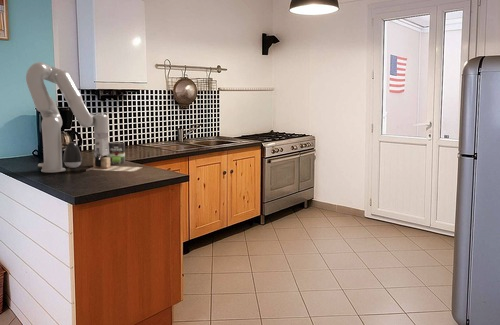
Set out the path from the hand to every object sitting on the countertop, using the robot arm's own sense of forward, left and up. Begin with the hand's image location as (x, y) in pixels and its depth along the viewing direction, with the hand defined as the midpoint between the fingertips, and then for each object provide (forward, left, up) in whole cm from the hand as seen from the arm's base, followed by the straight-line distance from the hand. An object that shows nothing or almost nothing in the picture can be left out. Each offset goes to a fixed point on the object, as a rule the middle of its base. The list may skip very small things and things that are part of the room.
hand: (101, 165), depth 259 cm
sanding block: (0, 0, -2) cm, 2 cm away
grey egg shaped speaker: (-21, +6, -3) cm, 22 cm away
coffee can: (+1, +19, -3) cm, 19 cm away
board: (+8, 0, -3) cm, 8 cm away
